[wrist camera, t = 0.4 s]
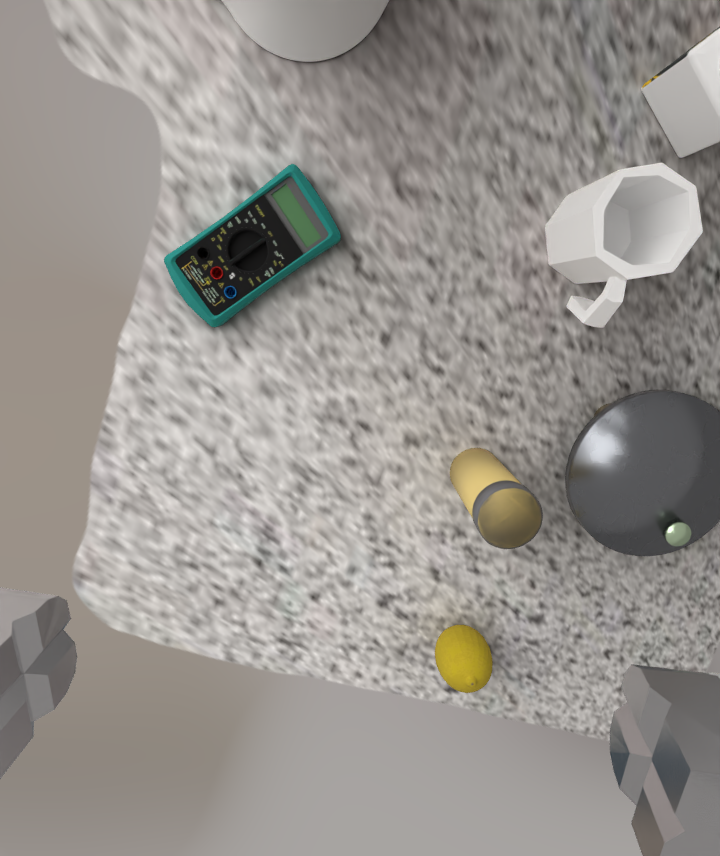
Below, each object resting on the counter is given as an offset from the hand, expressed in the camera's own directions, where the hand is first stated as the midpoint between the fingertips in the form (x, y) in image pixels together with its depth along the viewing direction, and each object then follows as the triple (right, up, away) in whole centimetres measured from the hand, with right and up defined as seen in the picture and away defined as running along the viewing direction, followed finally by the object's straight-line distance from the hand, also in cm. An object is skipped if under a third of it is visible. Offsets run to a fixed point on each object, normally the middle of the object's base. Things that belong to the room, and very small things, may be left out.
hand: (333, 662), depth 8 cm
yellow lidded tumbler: (+12, -1, +47) cm, 48 cm away
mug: (+21, +19, +43) cm, 51 cm away
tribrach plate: (+28, 0, +47) cm, 55 cm away
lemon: (+11, -19, +51) cm, 55 cm away
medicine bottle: (+29, +32, +40) cm, 59 cm away
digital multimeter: (-9, +20, +42) cm, 47 cm away
